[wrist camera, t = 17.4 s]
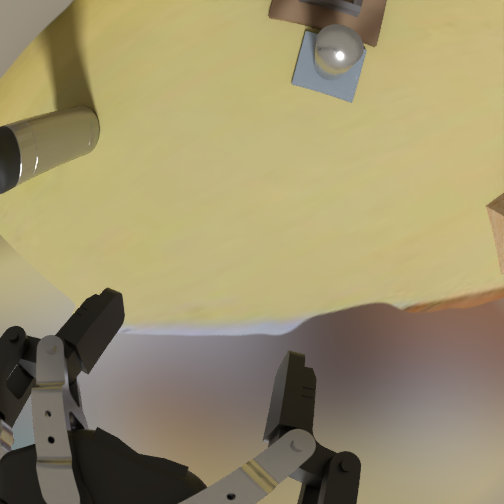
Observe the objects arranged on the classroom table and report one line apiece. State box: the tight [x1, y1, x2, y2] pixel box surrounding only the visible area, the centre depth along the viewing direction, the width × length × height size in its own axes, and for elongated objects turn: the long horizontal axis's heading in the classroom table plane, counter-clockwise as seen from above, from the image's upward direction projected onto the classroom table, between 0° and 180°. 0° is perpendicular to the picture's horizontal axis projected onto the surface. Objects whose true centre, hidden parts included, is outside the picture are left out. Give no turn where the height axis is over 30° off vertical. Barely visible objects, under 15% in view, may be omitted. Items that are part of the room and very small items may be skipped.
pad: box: [292, 31, 366, 103], centre depth 28 cm, size 8×8×1 cm
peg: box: [314, 24, 364, 80], centre depth 23 cm, size 4×4×13 cm
